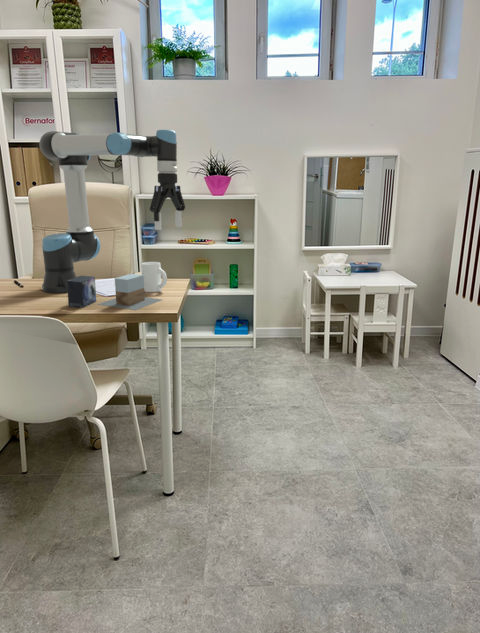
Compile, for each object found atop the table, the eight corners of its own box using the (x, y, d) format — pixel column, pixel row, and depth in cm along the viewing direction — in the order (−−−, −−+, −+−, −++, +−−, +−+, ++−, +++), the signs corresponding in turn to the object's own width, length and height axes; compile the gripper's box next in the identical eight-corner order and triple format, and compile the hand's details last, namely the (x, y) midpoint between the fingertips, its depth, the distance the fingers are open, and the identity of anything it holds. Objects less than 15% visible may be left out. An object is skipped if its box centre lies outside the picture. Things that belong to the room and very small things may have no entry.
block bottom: (116, 303, 184) (115, 291, 182) (132, 298, 192) (131, 286, 191) (129, 305, 181) (128, 292, 180) (144, 300, 190) (144, 287, 189)
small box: (83, 309, 177) (81, 281, 174) (67, 308, 179) (65, 280, 176) (97, 302, 187) (95, 276, 184) (82, 301, 189) (80, 275, 186)
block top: (115, 291, 182) (114, 278, 181) (131, 286, 191) (131, 273, 190) (128, 292, 180) (127, 279, 178) (144, 287, 189) (143, 275, 187)
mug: (160, 294, 200) (159, 266, 197) (138, 291, 206) (137, 263, 202) (172, 291, 207) (171, 263, 204) (150, 287, 213) (149, 261, 209)
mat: (96, 305, 183) (96, 304, 183) (126, 295, 198) (126, 294, 198) (135, 311, 175) (135, 310, 175) (163, 300, 191) (163, 299, 191)
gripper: (155, 172, 173) (157, 231, 179) (193, 173, 194) (193, 226, 200) (138, 172, 176) (141, 230, 182) (178, 173, 198) (179, 225, 204)
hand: (168, 228), depth 191 cm, fingers open, 13 cm apart
